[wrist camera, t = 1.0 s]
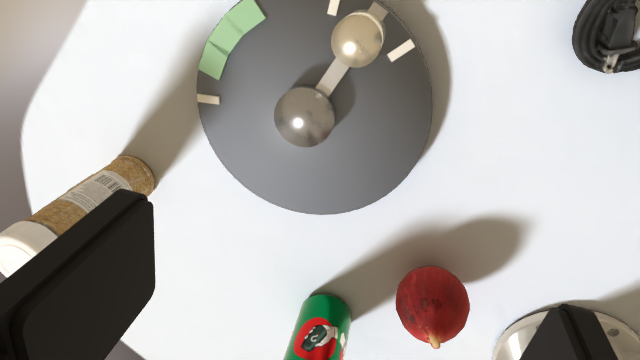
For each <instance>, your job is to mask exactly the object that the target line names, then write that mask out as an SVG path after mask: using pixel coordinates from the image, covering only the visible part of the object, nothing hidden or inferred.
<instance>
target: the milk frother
mask: <svg viewBox="0 0 640 360" xmlns="http://www.w3.org/2000/svg"><path fill="white" fill-rule="evenodd" d="M635 1H636V0H587V1H586V3H585V4H584V6H583V7H582V9H581V11H580V13H579V14H578V16H577V19H576V21H575V24H574V27H573V35H572V45H573V49H574V52H575V54H576V56H577V57H578V59H579V60H580V61H581V62H582V63H583V64H584V65H585V66H587V67H589V68H592V69H594V70H597V71H600V72H603V73H607V74H609V73H612V72H613V73H618V72H622V71H624V72H628V71H633V70H637V69H640V50H637V51H635V52H632V53H629V54H625V55H621V56H619V55H620V54H624V53H627V52H630V51H633V50H636V48H637V43H636V42H635V41H633V40H632V39H633V35H634V26H635V16H636V14H637V12H638V8H637V7H636V6H635Z"/></svg>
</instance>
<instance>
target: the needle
mask: <svg viewBox="0 0 640 360" xmlns="http://www.w3.org/2000/svg"><path fill="white" fill-rule="evenodd" d="M387 13H388V11H386V10H385V9H384V8H383V7H381V6H380V5H379V4H377V3H376V2H375V1H374V2H373V4H372V5H371V7H370V8H369V10H368V9H359V10H356V11H354V12H352V13H350V14H349V15H348V16H346V17H345V18H344V19H342V20H341V21H340V22H339V23H338V24H337V25H336V26H335V28H334V30H333V32H332V36H331V47H332V50H333V53H334V55H335V56H336V58H335V60H334V61H333V63H332V64H331V66H330V67H329V69H328V70H327V71H326V73H325V74H324V76H323V77H322V79H321V80H320V82H319V83H318V85H317V86H313V85H309V84H302V85H297V86H294V87H292V88H291V89H289V90H288V91H287V92H286V93H285V94H284V95H283V96H282V97H281V98H280V99H279V100H278V102H277V104H276V106H275V110H274V121H275V125H276V128H277V130H278V131H279V133H280V134H281V136H282V137H283V138H284V139H285V140H287V141H288V142H290V143H291V144H293V145H296V146H299V147H313V146H317V145H319V144H321V143H322V142H324V141H325V140H326V139H327V138H328V136H329V135H330V133H331V131H332V129H333V127H334V125H335V122H336V108H335V105H334V103H333V101H332V99H331V98H330V96H329V95H330V94H331V92H332V91H333V89H334V88H335V87H336V85H337V84H338V82H339V81H340V80H341V78H342V77H343V75H344V74H345V73H346V71H347V70H348V68H349V67H353V68H358V67H363V66H366V65H368V64H370V63H371V62H372V61H373V60H374V59H375V58H376V57H377V55H378V54H379V51H380V49H381V47H382V45H383V43H384V40H385V36H386V29H385V25H384V22H383V19H384V17H385V16H386V14H387Z"/></svg>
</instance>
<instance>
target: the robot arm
mask: <svg viewBox="0 0 640 360" xmlns="http://www.w3.org/2000/svg"><path fill="white" fill-rule="evenodd" d="M154 289H155V254H154V217H153V204H152V203H151V202H149V201H148V199H147V196H146V195H145V194H142V193H139V192H135V191H131V190H127V189H123V188H122V189H118V190H116V191H115V192H114V193H113V194H111V195H110V196H109V197H108V198H106V199H105V200H104V201H103V202H101V203H100V204H99V205H98V206H96V207H95V208H94V209H93V210H91V211H90V212H89V213H88V214H86V215H85V216H84V217H83V218H81V219H80V220H79V221H78V222H76V223H75V224H74V225H73V226H71V227H70V228H69V229H68V230H66V231H65V232H64V233H63V234H61V235H60V236H59V237H58V238H56V239H55V240H54V241H53V242H51V243H50V244H49V245H48V246H47V247H45V248H44V249H43V250H42V251H40V252H39V253H38V254H37V255H35V256H34V257H33V258H32V259H30V260H29V261H28V262H27V263H25V264H24V265H23V266H22V267H20V268H19V269H18V270H17V271H15V272H14V273H13V274H12V275H10V276H9V277H8V278H7V279H5V280H4V281H3V282H2V283H0V360H104V359H105V358H106V357H107V355H108V354H109V353H110V351H111V350H112V349H113V347H114V346H115V345H116V344H117V342H118V341H119V340H120V338H121V337H122V336H123V334H124V333H125V332H126V330H127V329H128V328H129V326H130V325H131V324H132V323H133V321H134V320H135V319H136V317H137V316H138V315H139V313H140V312H141V311H142V309H143V308H144V307H145V305H146V304H147V303H148V301H149V300H150V299H151V297H152V295H153V292H154ZM492 360H640V339H639V337H638V336H637V335H636V333H635V332H634V331H633V330H631V329H630V328H629V327H628V326H627V325H625V324H624V323H622V322H620V321H618V320H617V319H615V318H613V317H610V316H607V315H605V314H602V313H599V312H594V311H591V310H587V309H583V308H579V307H576V306H572V305H568V304H562V305H560V306H559V307H558V308H551V309H550V310H549V311H545V312H540V313H537V314H534V315H531V316H528V317H526V318H524V319H522V320H520V321H518V322H516V323H515V324H513V325H512V326H511V327H509V328H508V329H507V330H506V331H505V332H504V333H503V334H502V335H501V337H500V338H499V339H498V341H497V343H496V345H495V347H494V350H493V356H492Z"/></svg>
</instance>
